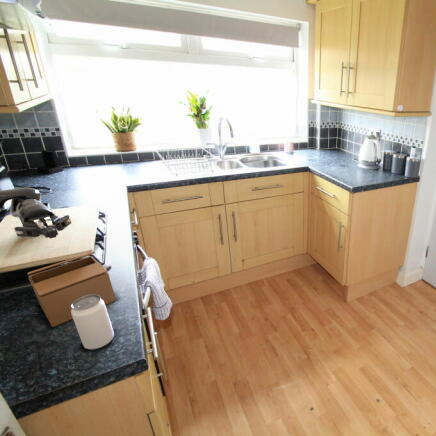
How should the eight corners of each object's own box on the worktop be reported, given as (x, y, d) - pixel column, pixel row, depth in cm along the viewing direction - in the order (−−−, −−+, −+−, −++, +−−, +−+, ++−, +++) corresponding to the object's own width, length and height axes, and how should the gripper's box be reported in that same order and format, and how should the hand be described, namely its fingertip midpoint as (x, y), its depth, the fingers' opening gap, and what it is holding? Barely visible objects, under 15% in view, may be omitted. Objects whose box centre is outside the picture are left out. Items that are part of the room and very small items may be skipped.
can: (119, 338, 80) (107, 299, 76) (90, 354, 75) (76, 314, 71) (107, 327, 84) (95, 290, 79) (78, 342, 79) (64, 303, 74)
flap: (28, 274, 82) (27, 272, 82) (27, 274, 87) (27, 273, 87) (95, 252, 93) (94, 251, 93) (91, 254, 98) (90, 253, 98)
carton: (52, 327, 83) (38, 295, 79) (39, 303, 91) (26, 273, 87) (116, 300, 94) (107, 270, 89) (99, 281, 102) (91, 253, 98)
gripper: (67, 221, 103) (84, 238, 93) (12, 235, 93) (25, 255, 83) (60, 200, 100) (77, 215, 90) (2, 211, 90) (14, 230, 80)
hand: (52, 234), depth 87 cm, fingers closed
